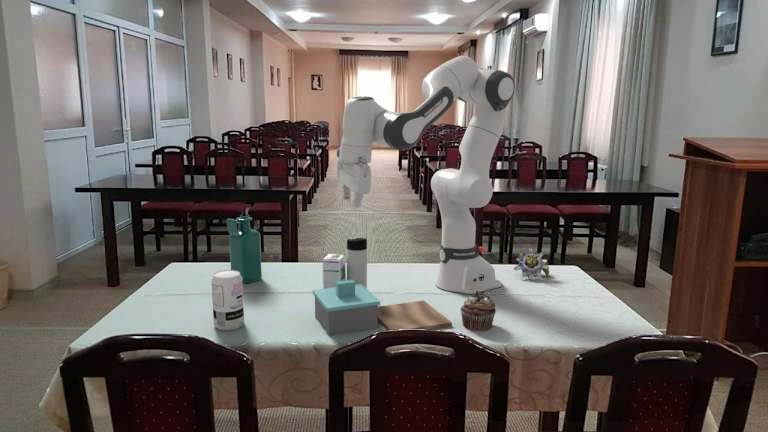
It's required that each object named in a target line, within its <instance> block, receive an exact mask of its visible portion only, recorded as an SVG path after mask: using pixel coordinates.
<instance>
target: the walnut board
mask: <svg viewBox="0 0 768 432" xmlns="http://www.w3.org/2000/svg"><path fill="white" fill-rule="evenodd" d="M377 322H379V324H380V325H382V327H383V328H384V327H385V328H386V329H387V330H399V329H431V330H437V329H443V328H449V327H452V326H453V323H452V321H451V320H450V319H448V318H447V317H446V316H445V315H443V314H442V313H441V312H440V311H438V310H437V309H435V308H434V307H433V306H432V305H431V304H429V303H428V302H427V301H425V300H417V301H410V302H402V303H395V304H389V305H382V306H381V305H379V306H378V315H377ZM385 328H384V329H385ZM386 329H385V330H386ZM387 330H386V331H387Z"/></svg>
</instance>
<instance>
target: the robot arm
mask: <svg viewBox="0 0 768 432" xmlns="http://www.w3.org/2000/svg"><path fill="white" fill-rule="evenodd" d="M515 89H516V85H515V80H514V78H513V76H512V75H511V74H510V73H509V72H506V71H504V70H499V69H498V70H496V69H490V68H479V66H478V65H477V63H476V62H475V60H474V59H473V58H471V57H470V56H468V55H459V56H456V57H453V58H452V59H449V60H447V61H445V62H444V63H442V64H440V65H438V67H436V68H434V69H433V70H431V71H430V72H428V74H427V75H426V76H425V77H424V78H423V80H422V84H421V92H422V95H423V98H424V101H423V102H422V103H421V104H419V105H418V106H417V107H416V108H415V109H413V110H412V111H409V112H408V111H407V112H397V111H389V110H388V109H387V108H384V107H382V106H381V105H380V104H378V102H377V101H376V100H375V98H374V97H371V96H353V97H351V98H349V99H348V100H347V101H346V104H345V106H344V109H343V116H342V117H343V118H342V124H341V125H342V126H341V129H342V137H341V142H340V146H339V148H337V149H336V157H337V163H336V166H337V167H336V175H337V176H336V178H337V182H339V183H340V184H342V186H341V187H342V199H343V200H344V201H350V200H351V191H353V192H354V198H353V200H352V206H353V208H356V209H357V208H361V203H362V200H363V198H364V195H369V193H370V191H371V186H372V185H371V183H372V170H371V169H372V168H371V167H370V166H369V165H368V164H371V162H372V154H373V143H376V144H379V145H381V146H386V147H390V148H393V149H395V150H398V151H400V152H401V151H403V152H404V151H408V150H410V149H412V148H414V147H415V146H416V145H417V144H418V142H419V141H420V139H421V137H422V136H423V135H424V133H425V132H426V131H427V130H428V129H429V128H430V127H431V126H432V125H434V123H436V121H437V120H439V119H440V118H441V117H442V116H443V115H445V113H446V112H447V111H448V110H450V108H451V106H452V105H453V103H454V101H456V100H459V101H461V102H463V103H471V104H474V113H473V115H472V116H471V119H470V120H469V123H468V124H467V127H466V129H465V133H464V135H463V137H462V139H461V142H460V144H459V147H458V151H459V153H460V156H461V157H460V158H461V163H460V166H459V167H460V168H459V169H457V168H452V167H451V168H443V169H439V170H437V171H436V172H435V173H434V174H433V176H432V177H431V180H430V188H431V192H432V193H433V194H434V196H435V198H436V200H437V204H438V209H439V212H440V216H441V243H440V245H439V246H440V247H439V260H440V261H439V267H438V268H439V269H438V273H437V278H436V280H435V286H436V287H437V288H439V289H442V290H445V291H447V292H456V293H461V294H462V293H463V294H466V295H467V294H468V295H470V294H471V295H472V294H473V293H475V292H476V291H478V292H479V293H480V292H481V293H482V292H486V291H489V290H493V289H494V290H495V289H497V288H501V287H502V286H503V285H502V284H503V283H502V281H501V280H500V279H499V278H498V277H496V272H495V268H494V266H493V265H492V264H491V263H490V262H489V261H487V260H486V259H484V258H483V257H482V256H481V255H480V254H484V253H485V252H486V248H485V247H483V246H481V245H480V246H479V245H477V244H476V230H477V227H476V226H477V224H476V221H475V219H474V217H473V216H472V213H471V211H470V208H471V209H472V208H473V209H474V208H477V209H479V208H482V207H485V206H486V205H488V204H489V203H490V201H491V199H492V197H493V193H494V189H493V185H492V182H491V179H490V166H491V162H492V158H493V155H494V153H495V150H496V148H497V146H498V143H499V140H500V138H501V135H502V134H503V130H504V127H505V123H506V119H507V114H508V113H507V106H508V105H509V104H510V102H511V101H512V98H513V96H514V94H515Z"/></svg>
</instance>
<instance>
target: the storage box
mask: <svg viewBox="0 0 768 432" xmlns="http://www.w3.org/2000/svg"><path fill="white" fill-rule="evenodd" d="M378 307H379V305H374V306H366V307H359V308H352V309H344V310H337V311H330V312H327V311H326V310H325V308H324V307H323V306H322V305H321V303H320V302H319V301H318V300H317V298H316V297H315V296H314V317H315V319H316V320H317V322H318V323H319V324H320V325H321V327H322V328H323V330H324V331H325V332H326V333H327V335H328V336H333V335H340V334H348V333H353V332H360V331H366V329H368V330H373V329H372V328H375V329H378V320H377V315H378Z"/></svg>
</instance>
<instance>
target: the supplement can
mask: <svg viewBox="0 0 768 432" xmlns="http://www.w3.org/2000/svg"><path fill="white" fill-rule="evenodd" d="M211 296H212V297H211V298H212V316H213V327H215V328H216V329H217V330H220V331H232V330H233V331H234V330H237V329H239V328H241V327H242V326H243V325H244V324H245V309H244V307H245V306H244V283H243V282H242V276H241V275H240V272H238V271H235V270H231V269H225V270H220V271H216V272H214V273H213V276H212V277H211Z"/></svg>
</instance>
